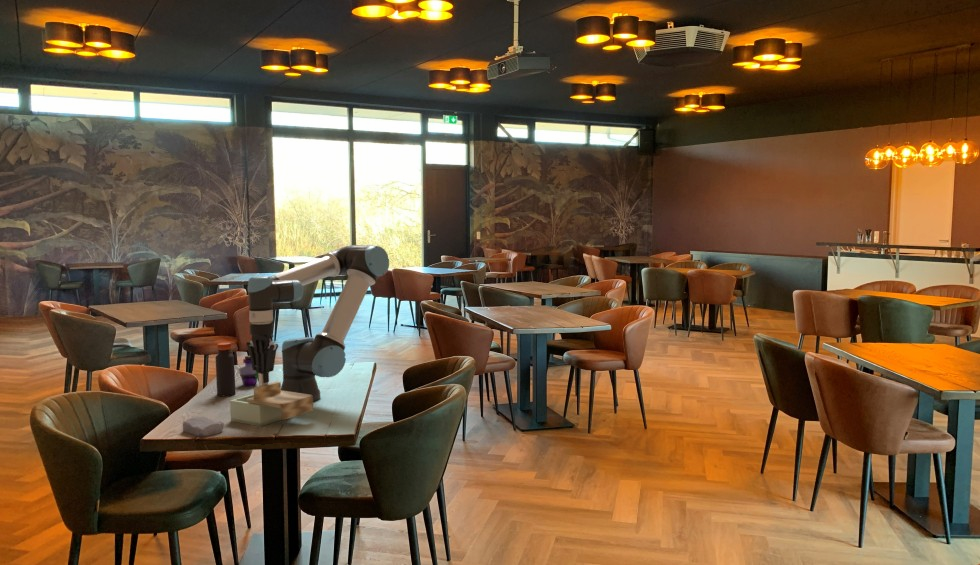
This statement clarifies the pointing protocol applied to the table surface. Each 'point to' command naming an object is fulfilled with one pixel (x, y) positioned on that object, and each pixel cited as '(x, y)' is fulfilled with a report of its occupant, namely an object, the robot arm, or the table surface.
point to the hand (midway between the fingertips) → (263, 391)
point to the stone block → (202, 426)
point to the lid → (282, 400)
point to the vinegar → (225, 370)
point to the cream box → (253, 412)
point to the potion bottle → (248, 373)
